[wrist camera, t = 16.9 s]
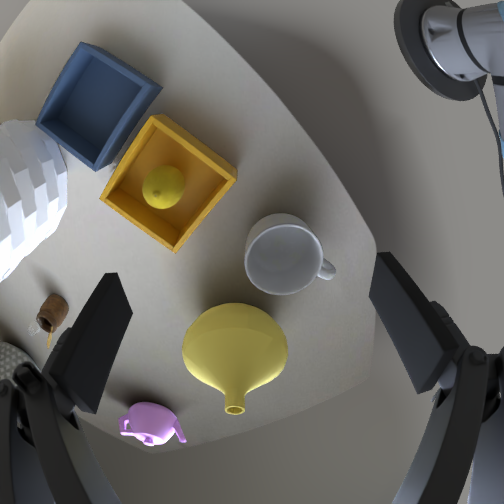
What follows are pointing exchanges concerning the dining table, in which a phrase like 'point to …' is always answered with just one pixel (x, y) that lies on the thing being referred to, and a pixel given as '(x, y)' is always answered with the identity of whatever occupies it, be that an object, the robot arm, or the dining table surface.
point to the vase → (235, 351)
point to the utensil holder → (51, 315)
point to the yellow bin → (187, 162)
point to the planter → (11, 360)
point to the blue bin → (95, 105)
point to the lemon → (163, 186)
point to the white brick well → (28, 190)
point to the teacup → (284, 255)
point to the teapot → (151, 423)
